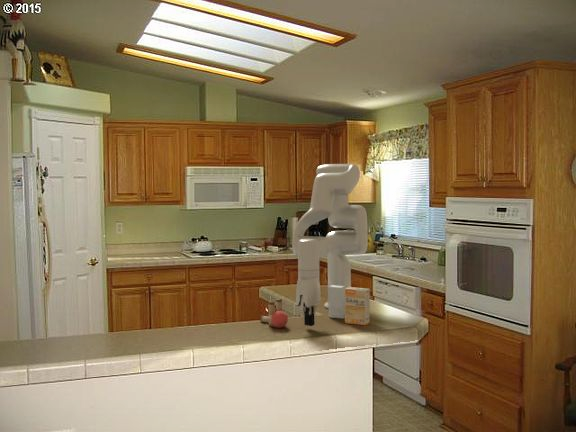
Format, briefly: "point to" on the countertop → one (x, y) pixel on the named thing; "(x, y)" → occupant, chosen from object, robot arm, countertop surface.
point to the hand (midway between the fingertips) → (309, 325)
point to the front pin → (264, 319)
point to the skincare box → (336, 301)
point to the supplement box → (357, 306)
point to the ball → (279, 319)
